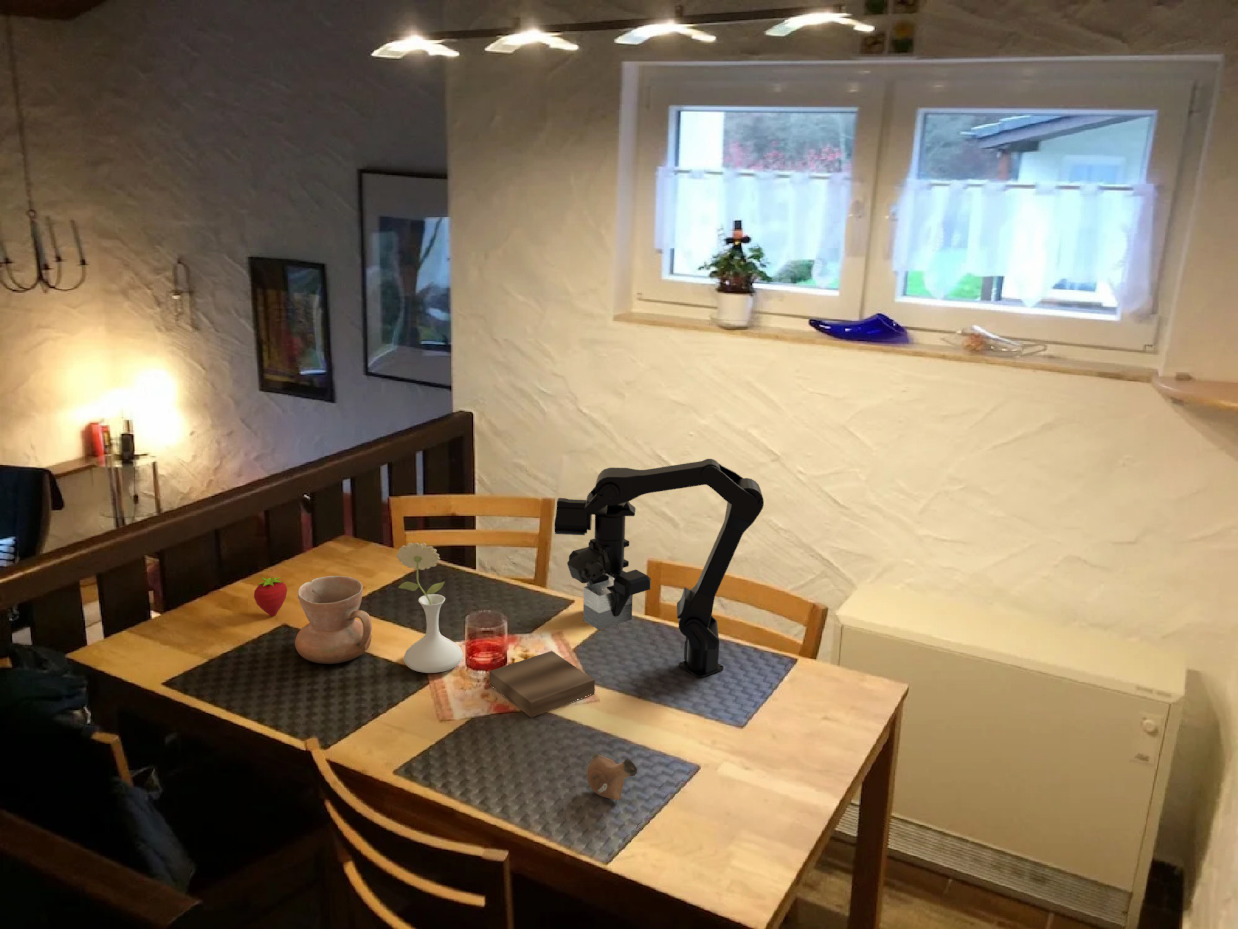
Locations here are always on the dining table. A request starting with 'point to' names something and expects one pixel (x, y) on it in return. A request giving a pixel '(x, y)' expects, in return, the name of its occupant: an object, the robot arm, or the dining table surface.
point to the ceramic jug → (333, 620)
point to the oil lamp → (609, 775)
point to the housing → (603, 606)
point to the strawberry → (270, 595)
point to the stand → (541, 683)
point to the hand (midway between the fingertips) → (607, 611)
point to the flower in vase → (428, 617)
